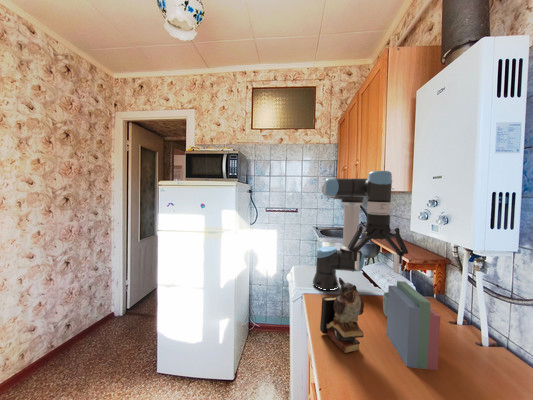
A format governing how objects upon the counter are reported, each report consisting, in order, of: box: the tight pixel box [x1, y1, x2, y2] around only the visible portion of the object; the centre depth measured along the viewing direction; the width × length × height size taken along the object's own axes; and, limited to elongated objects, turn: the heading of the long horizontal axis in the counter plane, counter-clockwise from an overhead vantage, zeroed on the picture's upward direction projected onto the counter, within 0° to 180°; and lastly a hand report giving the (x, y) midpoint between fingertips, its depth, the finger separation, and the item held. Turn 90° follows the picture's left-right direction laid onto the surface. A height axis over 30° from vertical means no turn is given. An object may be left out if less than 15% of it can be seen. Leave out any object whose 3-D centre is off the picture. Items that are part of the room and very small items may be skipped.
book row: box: [386, 280, 441, 371], centre depth 75 cm, size 16×9×22 cm, turn 171°
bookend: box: [319, 277, 365, 354], centre depth 79 cm, size 15×11×25 cm
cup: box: [382, 291, 388, 318], centre depth 95 cm, size 8×8×10 cm
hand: (376, 270), depth 78 cm, fingers open, 13 cm apart
